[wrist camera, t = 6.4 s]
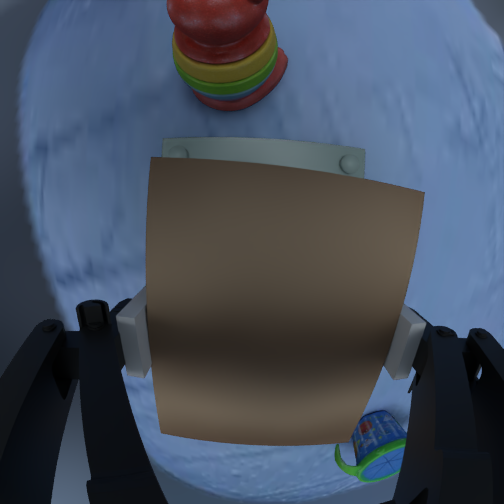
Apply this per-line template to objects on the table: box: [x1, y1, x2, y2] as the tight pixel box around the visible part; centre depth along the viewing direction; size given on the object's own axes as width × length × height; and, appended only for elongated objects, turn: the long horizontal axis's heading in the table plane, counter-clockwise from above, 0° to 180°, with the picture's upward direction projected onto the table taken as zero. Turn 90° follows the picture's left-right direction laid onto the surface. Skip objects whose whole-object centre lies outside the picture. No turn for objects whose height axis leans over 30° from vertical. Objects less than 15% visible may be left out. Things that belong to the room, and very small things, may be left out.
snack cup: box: [335, 411, 407, 482], centre depth 33 cm, size 16×10×10 cm
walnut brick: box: [146, 157, 425, 446], centre depth 13 cm, size 13×10×6 cm
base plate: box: [162, 137, 365, 179], centre depth 30 cm, size 22×22×2 cm
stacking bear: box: [167, 0, 288, 111], centre depth 18 cm, size 11×10×18 cm
